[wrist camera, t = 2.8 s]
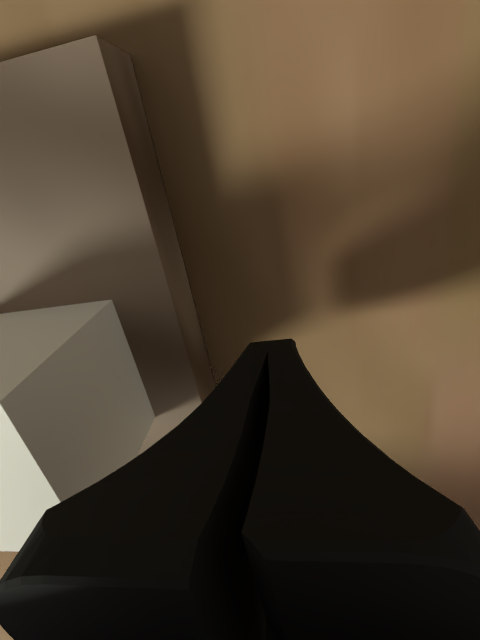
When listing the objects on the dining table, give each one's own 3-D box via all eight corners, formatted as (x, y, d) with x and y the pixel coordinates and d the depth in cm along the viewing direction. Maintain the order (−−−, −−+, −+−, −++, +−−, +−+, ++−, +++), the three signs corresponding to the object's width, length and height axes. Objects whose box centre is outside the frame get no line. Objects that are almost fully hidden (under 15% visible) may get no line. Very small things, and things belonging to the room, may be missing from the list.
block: (155, 416, 13) (91, 552, 9) (42, 423, 14) (-67, 550, 10) (111, 299, 11) (-1, 401, 7) (-18, 316, 12) (-193, 416, 8)
